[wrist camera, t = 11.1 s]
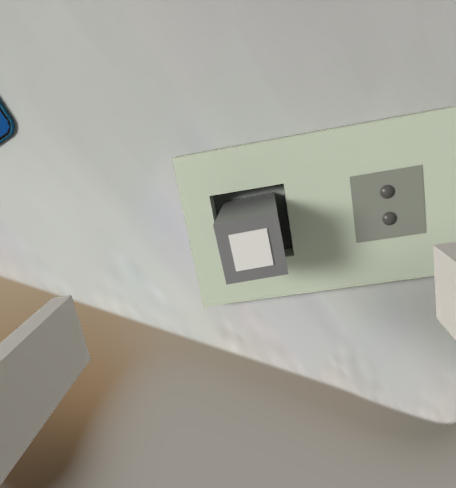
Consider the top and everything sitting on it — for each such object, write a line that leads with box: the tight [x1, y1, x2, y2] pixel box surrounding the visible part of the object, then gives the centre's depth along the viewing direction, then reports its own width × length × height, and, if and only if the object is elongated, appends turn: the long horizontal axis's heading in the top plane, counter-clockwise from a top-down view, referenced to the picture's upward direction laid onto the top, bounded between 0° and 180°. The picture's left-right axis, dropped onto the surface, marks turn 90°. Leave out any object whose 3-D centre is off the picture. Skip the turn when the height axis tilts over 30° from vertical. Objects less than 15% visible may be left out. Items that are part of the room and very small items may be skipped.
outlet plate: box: [172, 107, 456, 307], centre depth 32 cm, size 12×20×2 cm, turn 100°
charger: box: [213, 192, 288, 285], centre depth 30 cm, size 4×4×8 cm
